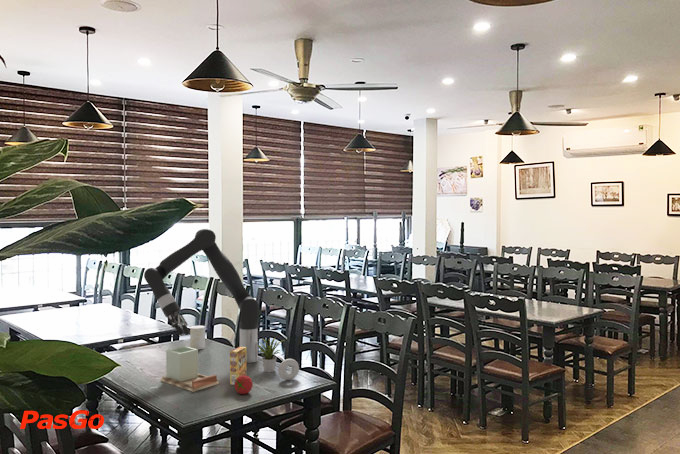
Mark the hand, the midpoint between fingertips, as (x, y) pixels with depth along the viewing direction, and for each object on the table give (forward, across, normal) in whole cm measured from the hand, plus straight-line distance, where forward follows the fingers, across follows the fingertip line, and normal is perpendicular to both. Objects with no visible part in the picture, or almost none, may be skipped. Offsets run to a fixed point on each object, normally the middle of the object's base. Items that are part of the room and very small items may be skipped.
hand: (185, 334), depth 257 cm
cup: (+1, +55, +15) cm, 57 cm away
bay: (+21, -6, +7) cm, 23 cm away
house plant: (+36, +17, -23) cm, 45 cm away
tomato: (+39, -18, -15) cm, 45 cm away
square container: (+17, -3, +10) cm, 20 cm away
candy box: (+33, -4, -11) cm, 35 cm away
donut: (+44, +2, -30) cm, 54 cm away
